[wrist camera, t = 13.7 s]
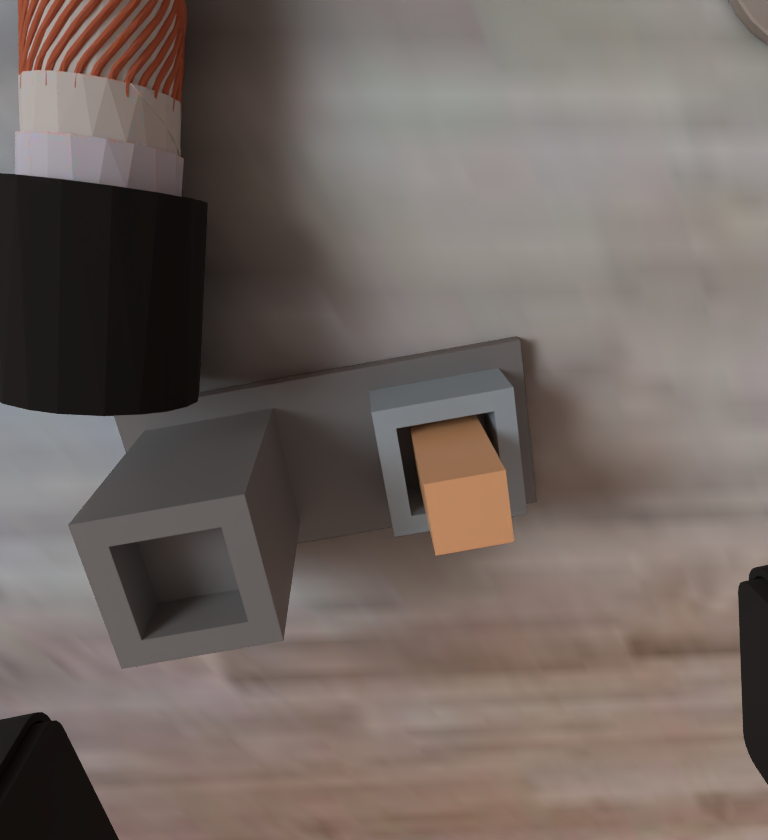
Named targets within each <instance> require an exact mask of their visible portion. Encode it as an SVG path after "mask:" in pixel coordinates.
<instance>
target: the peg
mask: <svg viewBox="0 0 768 840" xmlns="http://www.w3.org/2000/svg"><path fill="white" fill-rule="evenodd" d="M409 432H410V437H411V443H412V449H413V455H414V461H415V467H416V473H417V477H418V482H419V486H420V490H421V495H422V499H423V503H424V508H425V512H426V516H427V520H428V525H429V529H430V533H431V538H432V542H433V546H434V551H435V555H436V556H437V555H443V554H448V553H454V552H460V551H465V550H471V549H477V548H482V547H488V546H494V545H499V544H505V543H511V542H514V535H513V527H512V519H511V510H510V502H509V493H508V485H507V477H506V470H505V468H504V466H503V464H502V462H501V460H500V459H499V457H498V455H497V453H496V451H495V449H494V447H493V446H492V444H491V442H490V440H489V438H488V436H487V434H486V433H485V431H484V429H483V427H482V425H481V423H480V422H479V420H478V418H477V416H476V415H470V416H464V417H459V418H453V419H447V420H442V421H436V422H430V423H425V424H419V425H413V426H409Z"/></svg>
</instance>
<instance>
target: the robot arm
mask: <svg viewBox="0 0 768 840" xmlns="http://www.w3.org/2000/svg"><path fill="white" fill-rule="evenodd" d="M728 1H729V3H730V5H731V6H732V8H733V10H734V12H735V14H736V15H737V17H738V18H739V19H740V20H741V21H742V22H743V24H744V25H745V26H746V27H747V28H748V29H749V30H750V32H752V33H753V34H755V35H756V36H757V37H759V38H760V39H761V40H763V41H764V42H766V43H767V44H768V0H728ZM738 598H739V626H740V654H741V681H742V709H743V734H744V740H745V744H746V747H747V750H748V753H749V755H750V757H751V759H752V761H753V763H754V764H755V766H756V768H757V769H758V771H759V772H760V774H761V775H762V777H763V778H764V780H765V781H766V783H767V784H768V565H765V566H760V567H755V568H753V569H752V570H751V572H750V574H749V581H744V582H741V583H740V585H739V589H738ZM0 840H119V839H118V837H117V835H116V833H115V831H114V829H113V827H112V825H111V823H110V821H109V819H108V817H107V815H106V813H105V811H104V809H103V807H102V805H101V803H100V801H99V799H98V797H97V795H96V793H95V791H94V788H93V786H92V784H91V782H90V780H89V778H88V776H87V774H86V772H85V770H84V768H83V766H82V764H81V762H80V760H79V758H78V756H77V754H76V752H75V750H74V748H73V746H72V744H71V742H70V740H69V738H68V736H67V734H66V732H65V730H64V728H63V726H62V725H61V723H59V722H58V721H51V720H50V718H49V717H48V716H47V715H46V714H44V713H43V712H37V713H32V714H27V715H22V716H17V717H12V718H7V719H2V720H0Z"/></svg>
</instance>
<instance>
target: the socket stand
mask: <svg viewBox="0 0 768 840" xmlns="http://www.w3.org/2000/svg"><path fill="white" fill-rule="evenodd" d="M470 415H476V416H477V418H478V420H479V422H480V423H481V425H482V427H483V429H484V431H485V433H486V434H487V436H488V438H489V440H490V442H491V444H492V446H493V447H494V449H495V451H496V453H497V455H498V457H499V459H500V460H501V462H502V464H503V466H504V468H505V470H506V477H507V485H508V493H509V502H510V510H511V517H513V516H519V515H525V514H527V509H526V504H527V503H533V502H537V500H536V491H535V481H534V471H533V461H532V451H531V441H530V432H529V422H528V412H527V402H526V392H525V382H524V373H523V363H522V353H521V343H520V340H519V339H518V338H517V337H511V338H505V339H499V340H494V341H488V342H483V343H477V344H471V345H466V346H460V347H454V348H449V349H443V350H437V351H432V352H426V353H420V354H415V355H409V356H404V357H398V358H392V359H387V360H381V361H375V362H370V363H364V364H358V365H353V366H347V367H341V368H336V369H330V370H324V371H319V372H313V373H308V374H302V375H296V376H291V377H285V378H279V379H274V380H268V381H262V382H257V383H251V384H245V385H240V386H234V387H228V388H223V389H217V390H212V391H206V392H200V393H199V397H198V402H196V403H194V404H192V405H190V406H188V407H184V408H180V409H176V410H172V411H168V412H160V413H151V414H142V415H118V416H114V417H115V420H116V423H117V426H118V429H119V433H120V436H121V439H122V442H123V445H124V448H125V451H126V454H125V455H124V457H123V458H122V459H121V460H120V462H119V463H118V464H117V465H116V467H115V468H114V469H113V470H112V471H111V473H110V474H109V475H108V476H107V478H106V479H105V480H104V481H103V483H102V484H101V485H100V486H99V488H98V489H97V490H96V491H95V493H94V494H93V495H92V496H91V498H90V499H89V500H88V501H87V502H86V504H85V505H84V506H83V507H82V509H81V510H80V511H79V512H78V514H77V515H76V516H75V517H74V519H73V520H72V521H71V522H70V524H69V525H68V526H69V529H70V531H71V534H72V537H73V539H74V542H75V545H76V548H77V550H78V553H79V556H80V558H81V561H82V564H83V566H84V569H85V572H86V574H87V577H88V580H89V582H90V585H91V588H92V591H93V593H94V596H95V599H96V601H97V604H98V607H99V609H100V612H101V615H102V617H103V620H104V623H105V625H106V628H107V631H108V633H109V636H110V639H111V642H112V644H113V647H114V650H115V652H116V655H117V658H118V660H119V663H120V666H121V668H122V669H123V668H129V667H135V666H141V665H146V664H152V663H158V662H164V661H169V660H175V659H181V658H187V657H192V656H198V655H204V654H210V653H216V652H221V651H227V650H233V649H239V648H244V647H250V646H256V645H262V644H267V643H273V642H279V641H283V640H284V633H285V626H286V618H287V611H288V604H289V597H290V590H291V583H292V576H293V568H294V561H295V554H296V547H297V544H298V543H304V542H309V541H315V540H321V539H327V538H332V537H338V536H344V535H349V534H355V533H361V532H367V531H372V530H378V529H384V528H390V527H393V532H394V537H399V536H404V535H410V534H416V533H422V532H427V531H430V529H429V525H428V520H427V516H426V512H425V508H424V503H423V499H422V495H421V490H420V486H419V482H418V477H417V473H416V467H415V461H414V455H413V449H412V443H411V437H410V432H409V426H413V425H419V424H425V423H430V422H436V421H442V420H447V419H453V418H459V417H464V416H470Z"/></svg>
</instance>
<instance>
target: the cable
mask: <svg viewBox="0 0 768 840" xmlns="http://www.w3.org/2000/svg"><path fill="white" fill-rule="evenodd" d="M18 15H19V21H18V30H19V43H18V46H19V76H18V89H19V116H20V131H18V132H15V174H1V173H0V402H1V403H3V404H7V405H11V406H15V407H19V408H23V409H28V410H34V411H41V412H49V413H56V414H74V415H94V416H118V415H142V414H151V413H160V412H168V411H172V410H176V409H180V408H184V407H188V406H190V405H192V404H194V403H196V402H198V397H199V382H200V359H201V337H202V315H203V292H204V270H205V248H206V226H207V202H203V201H199V200H195V199H192V198H186V197H182V180H183V164H184V159H183V158H182V157H181V148H180V142H181V93H182V86H183V79H184V45H185V33H186V29H187V5H186V2H185V0H18Z"/></svg>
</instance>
